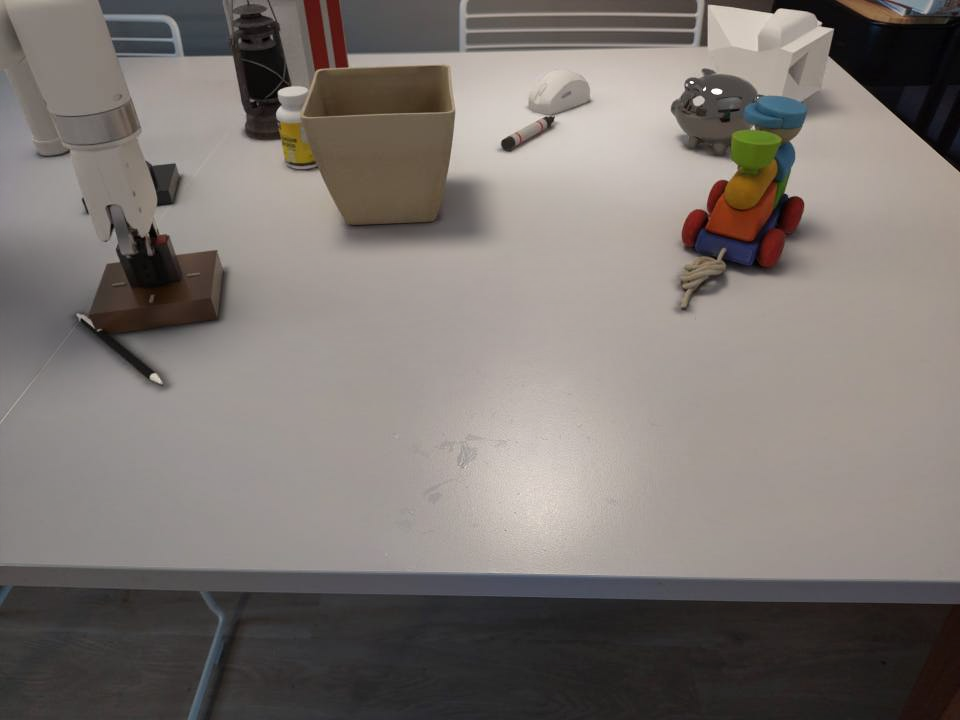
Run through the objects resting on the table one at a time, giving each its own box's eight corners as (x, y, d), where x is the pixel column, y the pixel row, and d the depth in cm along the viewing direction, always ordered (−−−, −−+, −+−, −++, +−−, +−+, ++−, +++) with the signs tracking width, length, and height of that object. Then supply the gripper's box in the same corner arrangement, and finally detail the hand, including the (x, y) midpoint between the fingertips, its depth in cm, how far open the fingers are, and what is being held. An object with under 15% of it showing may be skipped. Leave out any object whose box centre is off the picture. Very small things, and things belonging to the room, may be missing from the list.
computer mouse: (524, 108, 131) (525, 74, 127) (569, 92, 137) (572, 59, 133) (548, 117, 127) (550, 82, 123) (594, 100, 134) (597, 66, 130)
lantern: (273, 113, 131) (235, -70, 112) (319, 121, 127) (287, -67, 108) (229, 136, 122) (179, -58, 103) (276, 145, 119) (233, -54, 100)
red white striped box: (352, 78, 147) (333, -69, 129) (319, 106, 133) (293, -53, 116) (281, 74, 150) (254, -70, 132) (242, 101, 136) (206, -55, 119)
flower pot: (460, 233, 94) (455, 110, 83) (320, 240, 93) (297, 116, 82) (454, 174, 108) (450, 63, 98) (334, 180, 107) (316, 68, 97)
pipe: (33, 150, 119) (-55, -48, 100) (71, 140, 122) (-8, -54, 103) (43, 159, 116) (-46, -44, 96) (82, 149, 119) (2, -50, 100)
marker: (510, 151, 115) (510, 140, 114) (500, 149, 116) (500, 137, 115) (558, 124, 124) (559, 113, 123) (549, 122, 125) (550, 111, 124)
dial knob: (130, 287, 79) (114, 247, 76) (133, 278, 80) (117, 239, 77) (180, 280, 80) (166, 241, 76) (181, 272, 81) (168, 233, 78)
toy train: (638, 296, 81) (659, 162, 71) (715, 201, 100) (741, 84, 89) (741, 328, 76) (781, 188, 65) (802, 221, 95) (841, 99, 84)
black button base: (87, 213, 100) (76, 187, 98) (100, 184, 108) (90, 160, 105) (172, 203, 102) (164, 178, 99) (179, 176, 110) (172, 152, 107)
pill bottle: (283, 158, 114) (268, 87, 107) (321, 152, 116) (309, 81, 109) (289, 173, 110) (274, 100, 102) (329, 166, 111) (317, 94, 104)
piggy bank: (680, 126, 123) (692, 59, 115) (764, 144, 116) (781, 73, 108) (653, 146, 116) (664, 76, 108) (741, 167, 109) (758, 93, 101)
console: (98, 336, 77) (87, 313, 75) (115, 284, 85) (106, 262, 83) (217, 319, 79) (210, 296, 77) (223, 270, 87) (216, 248, 85)
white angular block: (817, 19, 112) (855, 9, 122) (687, -1, 125) (732, -8, 135) (786, 124, 122) (823, 107, 132) (669, 95, 135) (712, 81, 145)
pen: (83, 316, 80) (79, 308, 79) (167, 384, 70) (164, 376, 70) (75, 319, 80) (72, 311, 79) (159, 389, 70) (156, 381, 69)
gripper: (74, 99, 74) (132, 248, 85) (35, 157, 62) (109, 321, 73) (148, 93, 75) (195, 240, 87) (123, 148, 63) (182, 311, 75)
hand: (155, 276), depth 80 cm, fingers closed on dial knob, 2 cm apart
